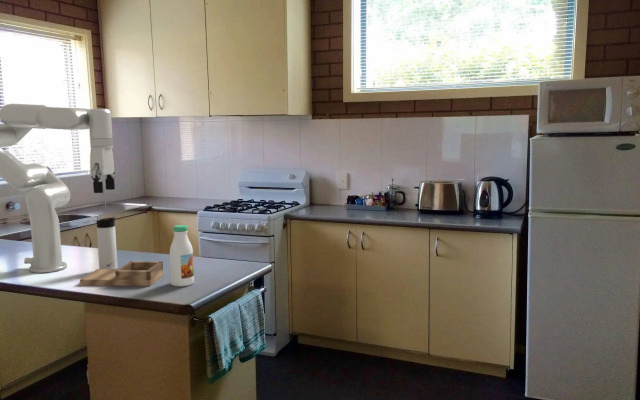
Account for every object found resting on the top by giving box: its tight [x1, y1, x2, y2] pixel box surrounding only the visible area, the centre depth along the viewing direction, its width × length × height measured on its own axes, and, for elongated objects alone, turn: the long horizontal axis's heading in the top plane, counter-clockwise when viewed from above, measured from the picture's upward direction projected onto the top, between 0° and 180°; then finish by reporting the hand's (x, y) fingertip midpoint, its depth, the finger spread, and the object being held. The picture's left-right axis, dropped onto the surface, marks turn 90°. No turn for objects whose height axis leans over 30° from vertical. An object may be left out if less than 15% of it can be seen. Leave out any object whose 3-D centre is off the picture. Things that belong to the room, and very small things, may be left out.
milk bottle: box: [169, 224, 195, 287], centre depth 184 cm, size 8×8×20 cm
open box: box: [79, 260, 164, 287], centre depth 189 cm, size 24×13×5 cm, turn 87°
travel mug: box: [96, 216, 119, 269], centre depth 200 cm, size 6×7×20 cm
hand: (104, 191), depth 197 cm, fingers open, 9 cm apart
